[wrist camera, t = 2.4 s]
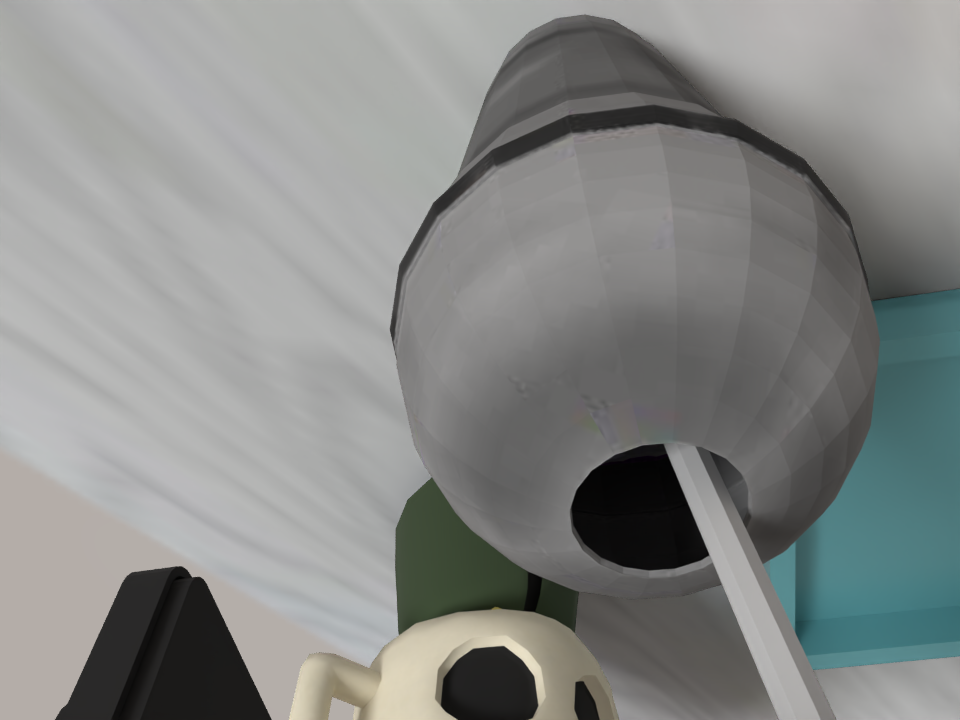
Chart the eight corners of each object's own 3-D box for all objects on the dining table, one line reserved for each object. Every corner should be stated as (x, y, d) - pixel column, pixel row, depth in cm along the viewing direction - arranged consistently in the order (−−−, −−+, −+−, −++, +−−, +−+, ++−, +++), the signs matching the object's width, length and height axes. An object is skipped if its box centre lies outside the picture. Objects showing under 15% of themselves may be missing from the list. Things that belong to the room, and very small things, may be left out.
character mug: (678, 521, 32) (767, 919, 21) (560, 636, 35) (583, 1031, 24) (402, 378, 29) (338, 755, 18) (302, 519, 32) (196, 910, 21)
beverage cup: (436, -52, 22) (201, 566, 5) (743, -43, 22) (1524, 611, 5) (438, 229, 26) (308, 1092, 9) (697, 237, 26) (1048, 1122, 9)
